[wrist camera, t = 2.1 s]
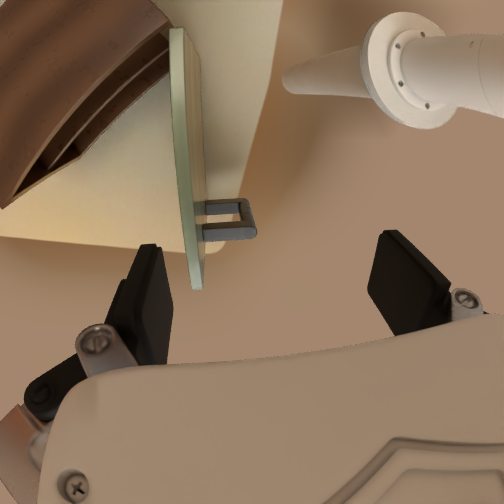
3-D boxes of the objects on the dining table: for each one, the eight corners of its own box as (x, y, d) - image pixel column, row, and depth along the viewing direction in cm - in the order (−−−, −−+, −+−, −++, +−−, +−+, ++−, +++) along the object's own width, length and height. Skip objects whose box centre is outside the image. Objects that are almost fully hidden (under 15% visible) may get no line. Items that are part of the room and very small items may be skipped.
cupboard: (192, 55, 29) (169, 19, 13) (79, 158, 33) (2, 210, 18) (130, -11, 22) (74, -67, 7) (27, 94, 27) (-63, 114, 11)
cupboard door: (243, 57, 29) (266, 23, 14) (246, 206, 40) (265, 284, 24) (191, 59, 29) (168, 28, 14) (200, 209, 39) (191, 290, 24)
